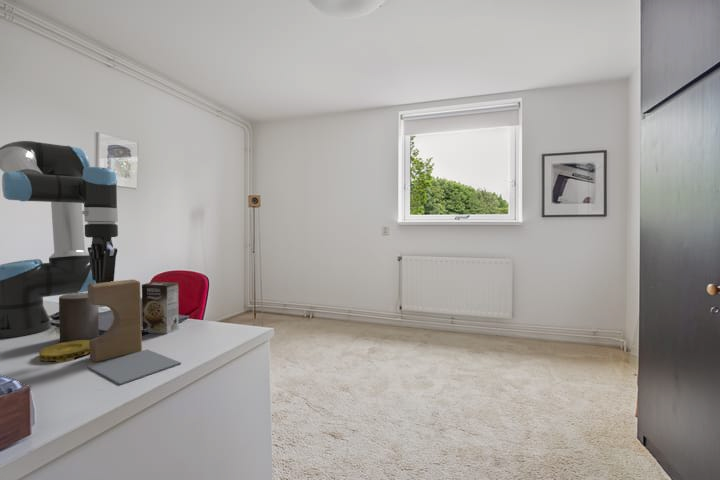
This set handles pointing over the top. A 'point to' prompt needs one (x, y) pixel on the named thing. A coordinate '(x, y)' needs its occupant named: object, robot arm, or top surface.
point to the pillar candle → (77, 318)
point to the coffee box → (160, 307)
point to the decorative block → (117, 319)
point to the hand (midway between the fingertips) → (103, 306)
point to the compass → (65, 351)
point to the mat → (133, 366)
